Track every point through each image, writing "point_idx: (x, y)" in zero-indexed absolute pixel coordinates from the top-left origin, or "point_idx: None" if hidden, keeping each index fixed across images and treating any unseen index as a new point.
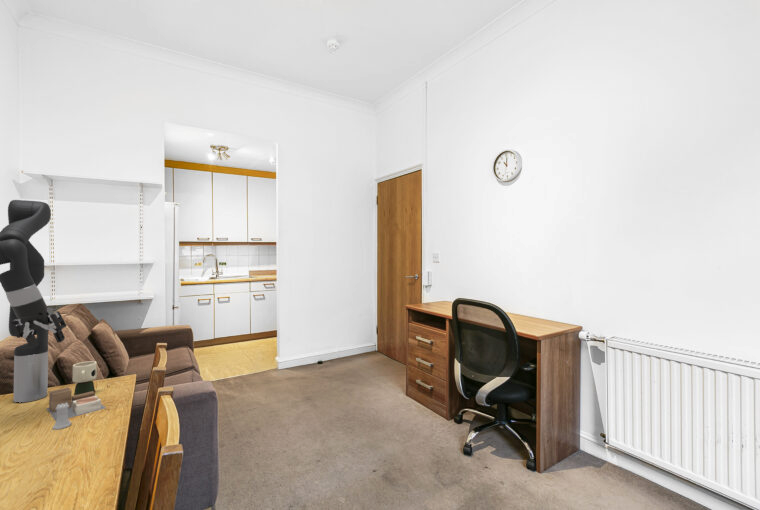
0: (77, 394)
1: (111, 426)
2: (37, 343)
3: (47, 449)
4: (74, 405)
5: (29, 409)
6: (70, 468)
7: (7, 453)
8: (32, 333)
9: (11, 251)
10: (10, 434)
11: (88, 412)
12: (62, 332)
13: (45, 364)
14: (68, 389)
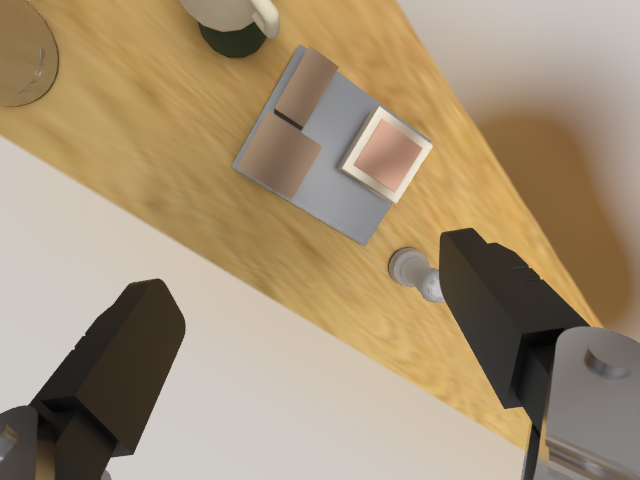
0: (235, 49)
1: (509, 227)
2: (157, 293)
3: (454, 339)
4: (365, 184)
5: (144, 156)
6: None
7: (388, 367)
8: (45, 436)
9: None
10: (295, 305)
11: None
12: (563, 301)
13: None
14: (299, 138)
